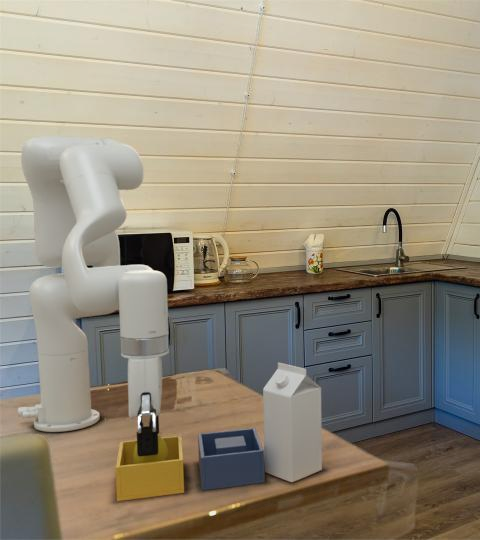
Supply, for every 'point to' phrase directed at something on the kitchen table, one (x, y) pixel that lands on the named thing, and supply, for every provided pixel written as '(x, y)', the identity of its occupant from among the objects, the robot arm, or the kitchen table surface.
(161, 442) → the lemon
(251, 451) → the blue bin
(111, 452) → the kitchen table surface
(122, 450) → the yellow bin
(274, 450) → the milk carton
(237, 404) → the kitchen table surface
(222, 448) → the blue block
